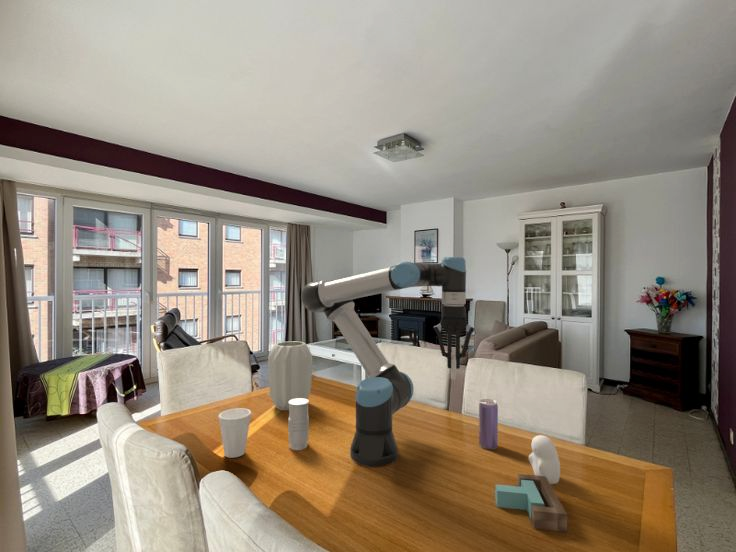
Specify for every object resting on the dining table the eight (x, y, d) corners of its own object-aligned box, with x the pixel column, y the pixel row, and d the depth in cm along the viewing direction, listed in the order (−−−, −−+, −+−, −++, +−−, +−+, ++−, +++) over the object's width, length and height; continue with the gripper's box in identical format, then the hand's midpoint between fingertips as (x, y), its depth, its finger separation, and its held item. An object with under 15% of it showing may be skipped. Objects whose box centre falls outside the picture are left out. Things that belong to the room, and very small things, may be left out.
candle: (283, 446, 125) (283, 401, 125) (300, 439, 130) (300, 396, 130) (296, 452, 121) (296, 406, 121) (313, 445, 126) (313, 401, 126)
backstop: (533, 528, 85) (533, 510, 85) (517, 488, 101) (517, 473, 101) (566, 531, 84) (567, 514, 84) (545, 491, 100) (545, 476, 100)
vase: (308, 414, 154) (308, 348, 154) (261, 414, 154) (261, 347, 154) (315, 399, 174) (315, 340, 174) (273, 398, 174) (274, 339, 174)
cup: (211, 458, 117) (211, 416, 117) (232, 445, 126) (233, 406, 126) (237, 464, 113) (237, 421, 113) (257, 449, 123) (257, 410, 123)
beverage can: (498, 451, 122) (498, 405, 122) (479, 449, 124) (480, 404, 124) (496, 443, 128) (496, 399, 128) (478, 441, 130) (478, 398, 130)
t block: (499, 515, 89) (499, 499, 89) (493, 492, 99) (493, 477, 99) (544, 520, 88) (544, 503, 88) (533, 496, 98) (533, 480, 98)
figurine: (526, 472, 109) (526, 431, 109) (551, 471, 110) (551, 430, 110) (539, 485, 102) (539, 441, 102) (565, 484, 103) (565, 441, 103)
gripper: (433, 305, 118) (432, 380, 117) (476, 306, 115) (475, 382, 115) (433, 303, 125) (432, 374, 125) (473, 304, 123) (473, 376, 123)
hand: (453, 378), depth 120 cm, fingers closed
